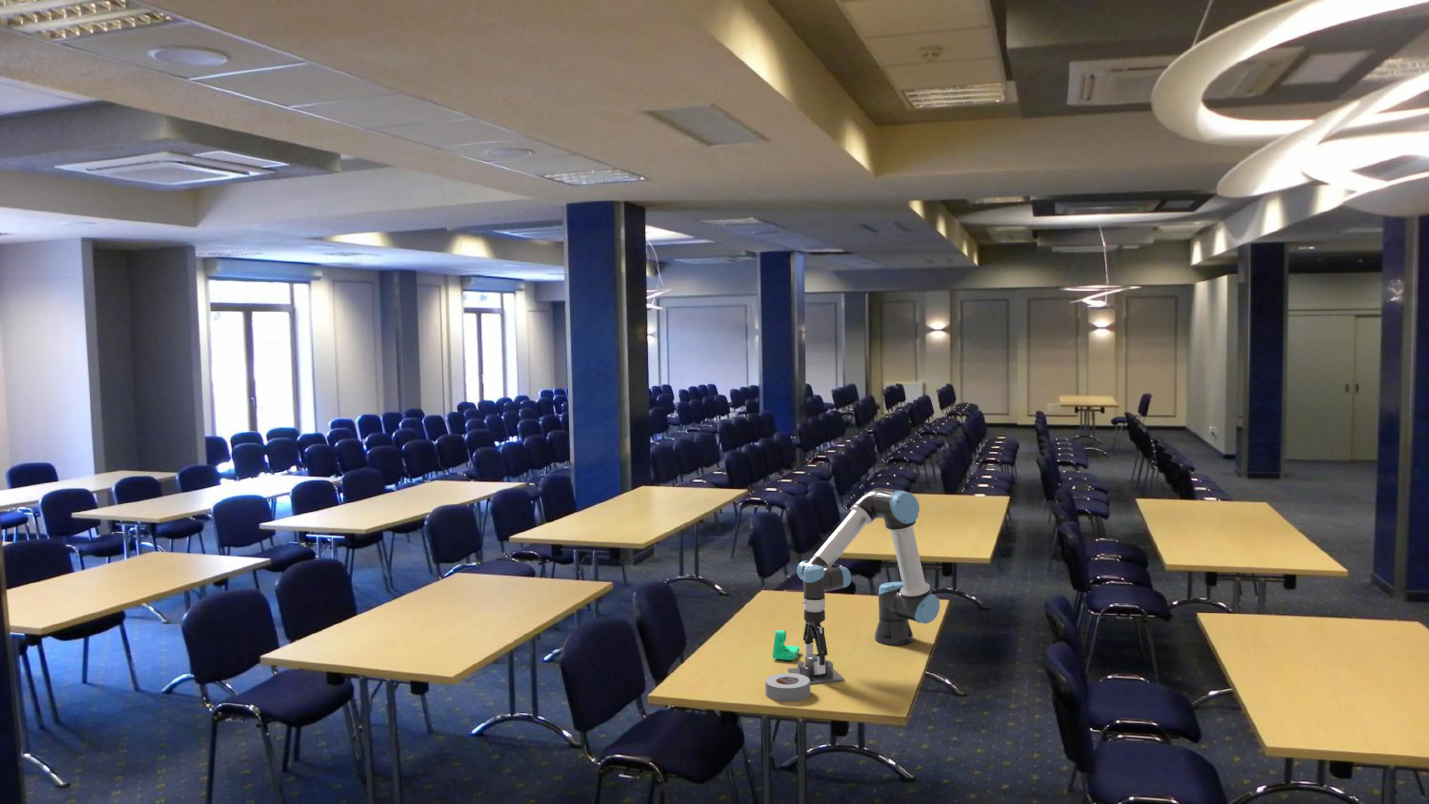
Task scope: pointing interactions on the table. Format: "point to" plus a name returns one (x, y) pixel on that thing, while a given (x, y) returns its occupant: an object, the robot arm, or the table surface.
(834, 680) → the ball joint plate
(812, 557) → the robot arm
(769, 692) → the tape roll
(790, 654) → the camera mount
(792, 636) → the table surface
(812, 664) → the cap
